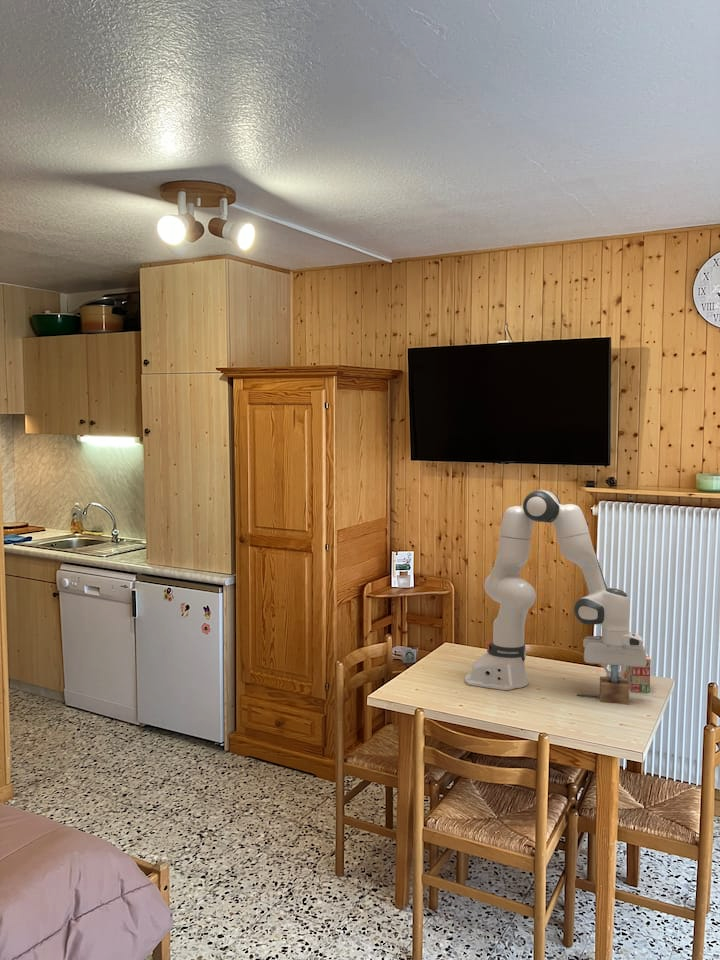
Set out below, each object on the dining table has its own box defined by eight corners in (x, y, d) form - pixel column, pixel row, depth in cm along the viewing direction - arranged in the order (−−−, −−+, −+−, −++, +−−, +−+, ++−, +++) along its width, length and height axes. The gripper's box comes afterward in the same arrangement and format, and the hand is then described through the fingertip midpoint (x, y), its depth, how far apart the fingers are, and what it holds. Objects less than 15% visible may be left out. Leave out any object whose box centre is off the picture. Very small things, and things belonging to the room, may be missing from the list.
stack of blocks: (620, 674, 292) (621, 641, 292) (637, 674, 292) (638, 642, 291) (631, 692, 271) (632, 657, 271) (650, 693, 270) (651, 658, 270)
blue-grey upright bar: (610, 690, 264) (611, 658, 263) (610, 688, 266) (610, 656, 265) (618, 690, 263) (618, 658, 262) (617, 688, 265) (618, 656, 265)
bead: (600, 701, 261) (600, 684, 261) (599, 693, 270) (599, 676, 270) (628, 704, 259) (629, 686, 259) (626, 695, 268) (627, 678, 267)
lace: (577, 695, 267) (577, 694, 267) (577, 695, 268) (577, 693, 268) (598, 697, 265) (598, 696, 265) (598, 697, 266) (598, 695, 266)
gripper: (583, 637, 263) (582, 677, 264) (647, 641, 258) (646, 682, 258) (583, 632, 269) (582, 672, 270) (645, 636, 264) (645, 677, 265)
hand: (614, 677), depth 264 cm, fingers closed on blue-grey upright bar, 2 cm apart
